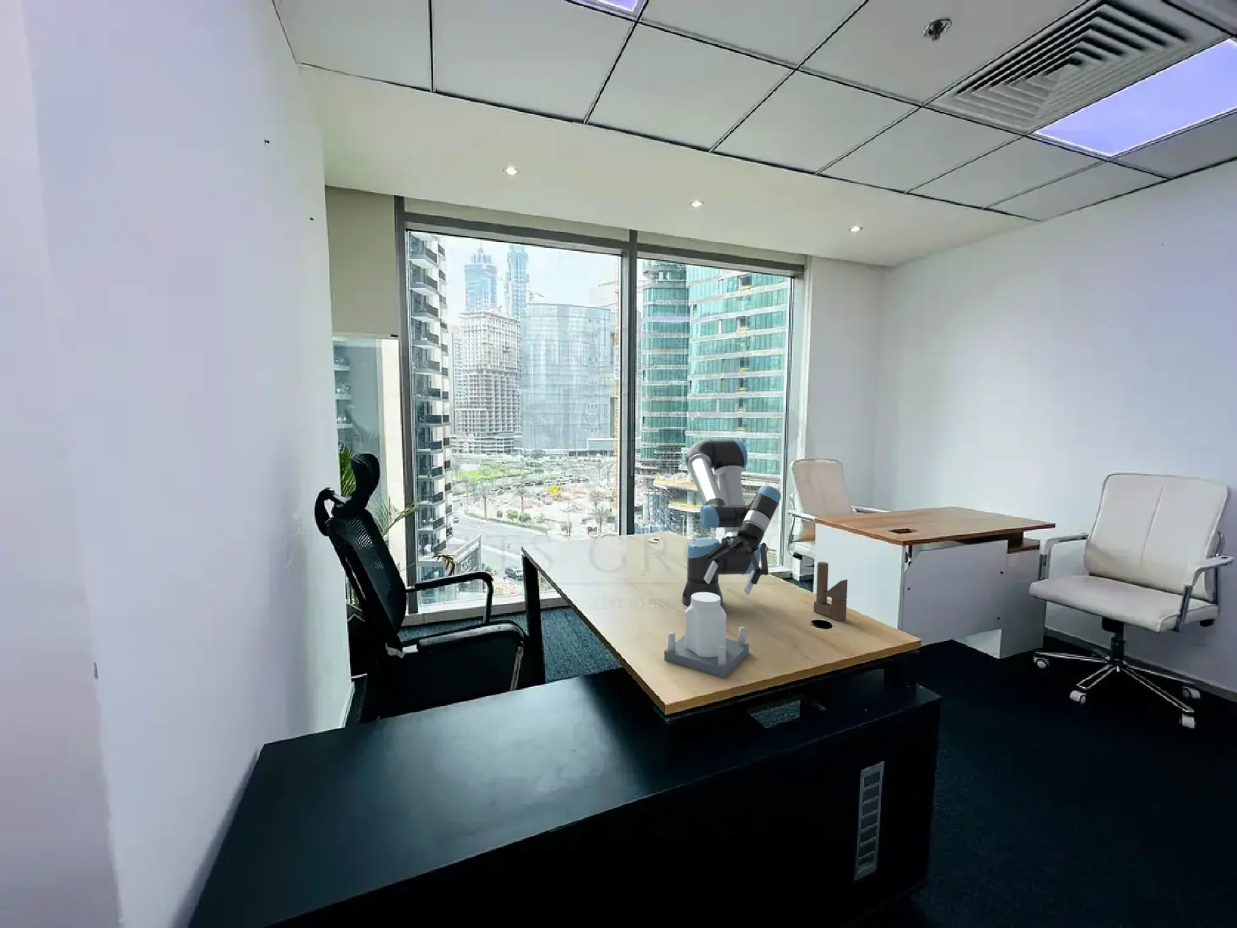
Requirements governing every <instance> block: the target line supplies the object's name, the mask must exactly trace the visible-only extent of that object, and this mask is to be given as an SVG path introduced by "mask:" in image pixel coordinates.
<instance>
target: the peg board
mask: <svg viewBox="0 0 1237 928" xmlns="http://www.w3.org/2000/svg"><path fill="white" fill-rule="evenodd" d="M667 635H668V637H667V648H666V649H665V650H664V654H663V656H664V657H663V659H664V661H668V662H671V663H673V664H674V663H675V664H678V665H680V666H684V667H687V668H691V669H694V670H698V671H700V672H703V673H707V674H710V675H713V676H717V677H720V678H723V679H726V677H727V676H729V675H730V673H731V672H732V671H733V670H734V669H735V668H736V667H737V666H738V665H739V664H740V663H741V662H742V661H743V659H745V657H746V656H747V655H748V654H749V653H750V652H749V651H750V644H749V643H747V642H746V641H747V637H746V636H747V627H746V626H739V627H738V641H737V640H735V639H730V638H726V637H725V645H726V646H724V645H719V646H718V657H710V658H707V657H699V656H698V655H697V654H696V653H694V652H693V651H691V650H688V649H686V648H685V647H684V644H685V635H684V636H683V637H681V638H680V639H678V640H677V641H676V632H675V631H669V632H668V633H667Z"/></svg>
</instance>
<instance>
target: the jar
mask: <svg viewBox="0 0 1237 928" xmlns="http://www.w3.org/2000/svg"><path fill="white" fill-rule="evenodd" d="M720 600H721V598H720V596H718V595H717V594H714V593H708V592H698V593H694V594H692V595H691V604H690V606H687V608H686V610H685V611H684V618H685V619H684V624H685V625H684V636H685V644H684V647H685V648H686V649H688V650H691V651H693V652H694V653H696V654H697V655H698V656H699V657H707V658H710V657H718V646H719V645H724V646H726V645H725V638H726V637H727V636H726V632H727V629H726V628H727V627H726V625H727V614H726V611H725V610H724V608H723V606H722V605H720V604H721V603H720V602H721V601H720Z"/></svg>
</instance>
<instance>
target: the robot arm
mask: <svg viewBox="0 0 1237 928" xmlns="http://www.w3.org/2000/svg"><path fill="white" fill-rule="evenodd" d="M685 464H686V468H687V470H688V472H690V473H691V475H692V477H693V480H694V483H695V486H696V488H697V489H696V490H697V492H698V494H699V498H700V500H701V504H702V505H701V507H700V510H699V518H700V519H699V521H700V524H701V526H702V527H704V528H713V529H717V528H719V529H720V528H724V535H723V536H722V537H721V542H720V541H719V539H716V538H699V539H696V540H693V541H691V542H689V544H688V545H687V554H686V557H687V562H686V564H687V565H686V569H687V570H686V574H687V575H686V583H685V587H684V589H683V591H682V595H681V602H682V601H683V602H682V604H684V605H686V606H687V605H688V606H687V607H689V606H690V604H691V595H692V594H694V593H698V592H708V593H714V594H717V595H718V596H720V598H721V600H720V601H721V602H720V603H721V604H720V605H721V606H723V604H724V596H723V593H722V590H721V587H720V583H719V576H721V575H723V576H724V575H725V576H726V575H728V576H729V575H742V576H744V575H749V576H748V578H747V580H746V582H745V584H744V587H743V591H744V593H745V595H746V596H750V594H751V591H752V589H753V588H754V587H753V586H754V585H755V586H756V585H757V584H758V582H759V581H760V577H761V576H763V575H764V576H768V575H769V564H768V551H769V547H768V545H767V544H766V542H762V541H763V539H764V536H765V534H766V531H767V530H768V527H769V525H770V523H771V520H772V519H773V516H774V514H775V512H776V510H777V508H778V506H779V504H780V501H781V499H782V495H781V492H780V491H779V490H778V489H777V488H775V487H773V486H772V485H762V486H760V487H759V489H758V491H757V492H756V495H755V496H754V498H753V499H752V500H751V502H750V503H749V504H745V500H744V494H743V482H742V476H741V474H742V473H743V472H744V470H745V468H746V467H747V465H748V451H747V448H746V445H745V443H744V442H743V441H742V440H740V439H733V438H728V439H727V438H726V439H725V438H722V439H720V438H717V439H715V438H709V439H708V438H705V439H700V440H698V441H696V442H695V443H693V444H692V445H691V446H690V448H689V449H688V451H687V452H686V456H685ZM715 475H716V476H717V477H718V482H719V484H718V482H717V479H716V476H715ZM761 542H762V543H761Z"/></svg>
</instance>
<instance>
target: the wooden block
mask: <svg viewBox="0 0 1237 928" xmlns="http://www.w3.org/2000/svg"><path fill="white" fill-rule="evenodd" d="M816 567H817V568H816V598H815V600H816V601H814V602H813V612H814V611H815V613H817V614H820V615H822V616H825V617H828V618H831V619H832V620H835V621H837V622H843V621H845V620H847V601H848V600H847V599H848V581H849V580H848V579H847V578H846V579H843V580H842V579H841V580H840V581H839V582H837V583H836V584H835V585H833V586H832V587H831V588H830V589H828V588H829V587H828V585H829V563H828V562H826V561H818V562H817V566H816ZM828 598H831V600H830V601H831V602H829V603H828Z"/></svg>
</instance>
